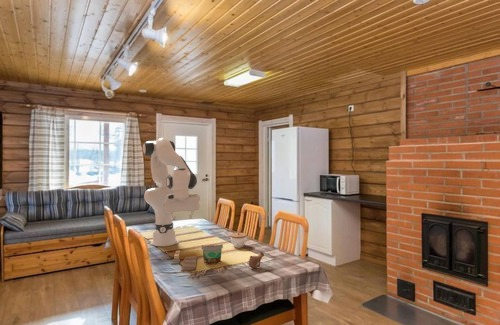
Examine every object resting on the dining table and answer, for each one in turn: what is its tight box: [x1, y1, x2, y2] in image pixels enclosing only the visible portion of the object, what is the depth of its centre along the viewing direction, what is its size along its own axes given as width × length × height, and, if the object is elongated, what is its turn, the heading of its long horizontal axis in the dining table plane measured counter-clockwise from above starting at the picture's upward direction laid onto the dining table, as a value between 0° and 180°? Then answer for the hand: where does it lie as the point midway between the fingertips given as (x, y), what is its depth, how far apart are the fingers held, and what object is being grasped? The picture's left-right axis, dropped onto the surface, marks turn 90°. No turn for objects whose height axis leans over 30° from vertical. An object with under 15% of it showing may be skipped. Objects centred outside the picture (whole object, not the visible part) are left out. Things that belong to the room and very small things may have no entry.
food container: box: [200, 243, 224, 265], centre depth 173 cm, size 12×6×10 cm, turn 105°
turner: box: [170, 250, 181, 266], centre depth 179 cm, size 16×4×3 cm, turn 7°
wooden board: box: [180, 256, 198, 272], centre depth 171 cm, size 20×7×1 cm, turn 7°
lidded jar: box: [230, 231, 248, 249], centre depth 205 cm, size 11×11×9 cm
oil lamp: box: [248, 251, 265, 269], centre depth 165 cm, size 9×4×8 cm, turn 112°
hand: (182, 219), depth 179 cm, fingers open, 8 cm apart
